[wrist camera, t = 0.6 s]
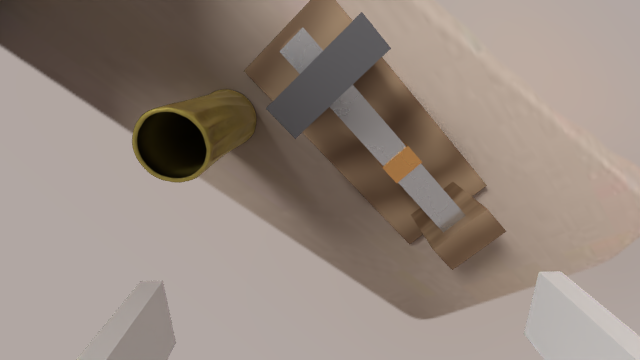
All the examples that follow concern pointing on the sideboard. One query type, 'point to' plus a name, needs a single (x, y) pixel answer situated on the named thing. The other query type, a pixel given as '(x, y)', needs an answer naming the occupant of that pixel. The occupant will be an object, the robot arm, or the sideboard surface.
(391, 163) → the light grey bar
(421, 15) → the sideboard surface
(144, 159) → the vase
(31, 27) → the sideboard surface
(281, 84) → the wooden stand
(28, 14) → the sideboard surface
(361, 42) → the collar
